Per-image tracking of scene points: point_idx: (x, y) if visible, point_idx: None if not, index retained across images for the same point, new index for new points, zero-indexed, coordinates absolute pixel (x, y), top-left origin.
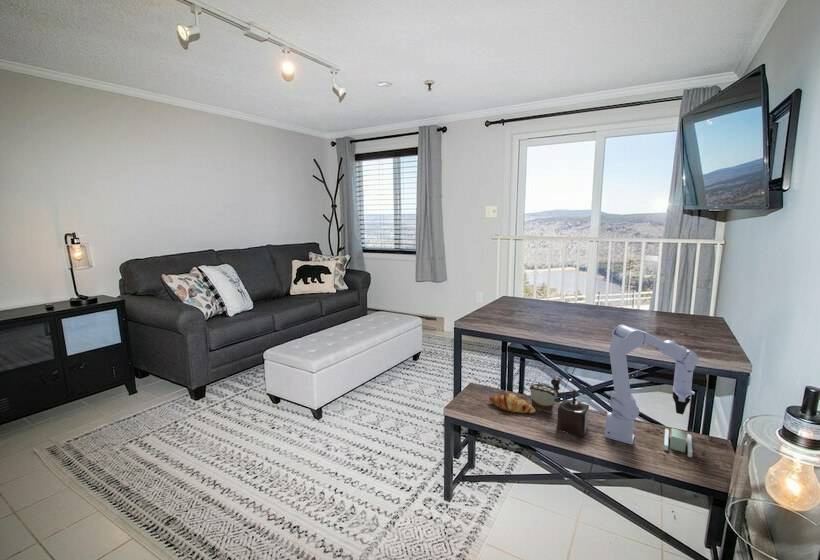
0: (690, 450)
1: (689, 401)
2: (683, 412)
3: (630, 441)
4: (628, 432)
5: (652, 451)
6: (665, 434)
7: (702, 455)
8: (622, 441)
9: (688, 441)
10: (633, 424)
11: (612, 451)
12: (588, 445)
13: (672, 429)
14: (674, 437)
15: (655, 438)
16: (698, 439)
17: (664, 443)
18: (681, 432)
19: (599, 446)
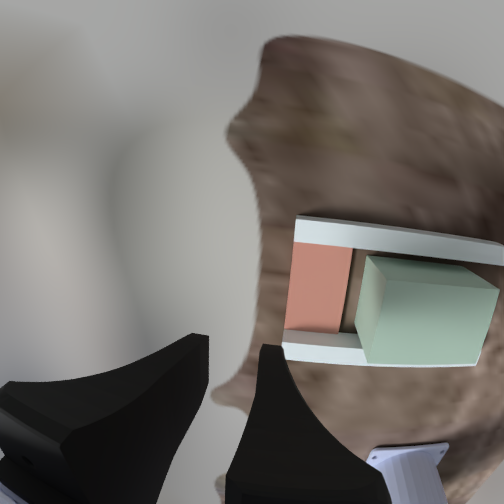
0: (498, 254)
1: (380, 481)
2: (284, 358)
3: (435, 451)
4: (441, 483)
5: (481, 385)
6: (363, 362)
7: (458, 184)
8: (436, 465)
9: (406, 249)
10: (428, 500)
11: (486, 463)
12: (459, 500)
13: (387, 359)
14: (479, 347)
15: (366, 383)
16: (266, 169)
17: (464, 365)
18: (414, 310)
19: (463, 487)
